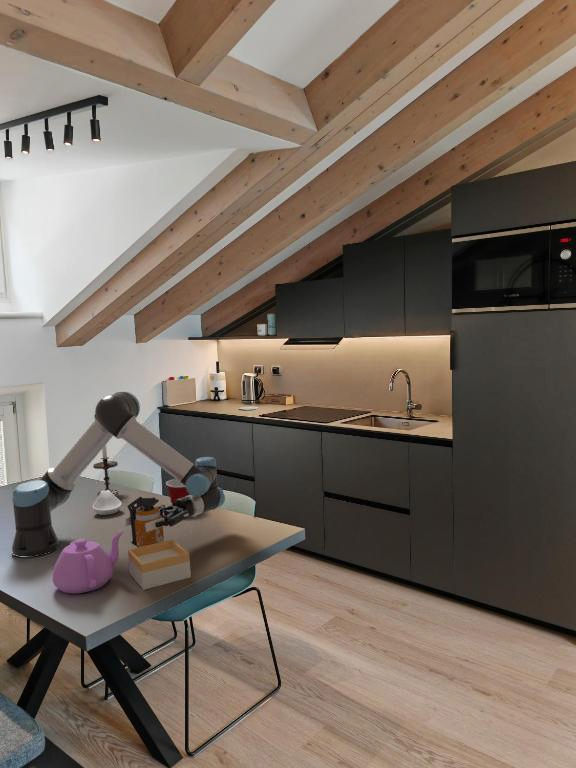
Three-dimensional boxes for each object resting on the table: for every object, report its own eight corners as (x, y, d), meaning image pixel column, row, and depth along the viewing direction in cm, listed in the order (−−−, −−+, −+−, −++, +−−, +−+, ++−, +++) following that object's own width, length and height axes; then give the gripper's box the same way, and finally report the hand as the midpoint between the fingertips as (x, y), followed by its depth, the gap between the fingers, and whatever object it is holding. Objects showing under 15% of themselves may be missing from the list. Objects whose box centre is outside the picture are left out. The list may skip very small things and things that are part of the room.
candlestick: (113, 489, 289) (107, 417, 286) (124, 493, 281) (118, 419, 278) (91, 494, 282) (85, 420, 278) (102, 498, 274) (96, 422, 270)
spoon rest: (123, 515, 248) (122, 498, 247) (93, 520, 244) (92, 502, 243) (118, 500, 270) (117, 485, 269) (91, 504, 266) (89, 488, 265)
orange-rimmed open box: (143, 589, 175) (141, 564, 174) (129, 573, 187) (127, 549, 186) (190, 577, 182) (189, 553, 181) (174, 562, 194) (172, 539, 194)
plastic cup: (181, 515, 244) (179, 486, 243) (162, 511, 249) (160, 483, 248) (199, 507, 253) (197, 479, 252) (179, 504, 259) (178, 477, 257)
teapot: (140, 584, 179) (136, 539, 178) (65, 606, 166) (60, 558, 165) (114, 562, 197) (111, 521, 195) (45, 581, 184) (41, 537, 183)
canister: (158, 561, 195) (153, 501, 193) (127, 561, 197) (121, 501, 196) (169, 551, 204) (164, 493, 202) (139, 550, 206) (134, 493, 204)
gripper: (210, 522, 206) (158, 542, 189) (168, 512, 221) (116, 529, 204) (209, 501, 206) (157, 519, 189) (166, 492, 220) (114, 508, 203)
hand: (135, 524), depth 196 cm, fingers closed on canister, 10 cm apart
